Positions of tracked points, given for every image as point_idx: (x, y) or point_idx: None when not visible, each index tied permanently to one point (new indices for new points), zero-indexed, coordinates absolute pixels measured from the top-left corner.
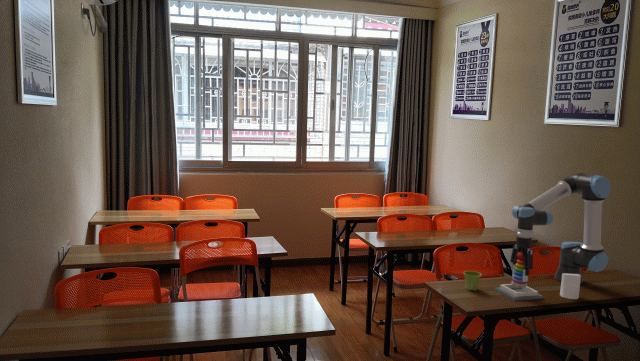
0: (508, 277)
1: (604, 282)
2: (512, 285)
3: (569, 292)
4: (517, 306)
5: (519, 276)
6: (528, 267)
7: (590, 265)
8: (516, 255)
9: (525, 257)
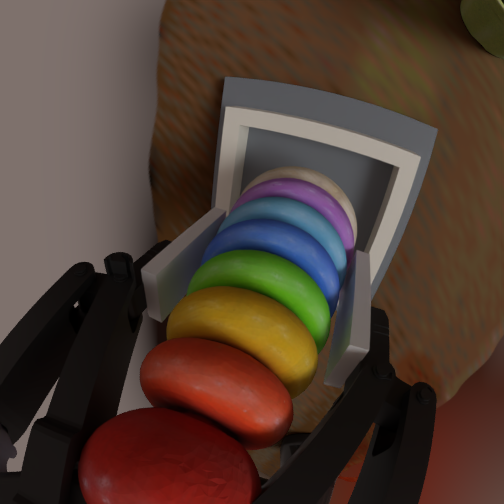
0: (465, 372)
1: (269, 456)
2: (372, 239)
3: None
4: (164, 40)
5: (237, 217)
6: (69, 275)
7: None
8: (284, 500)
9: (57, 409)
